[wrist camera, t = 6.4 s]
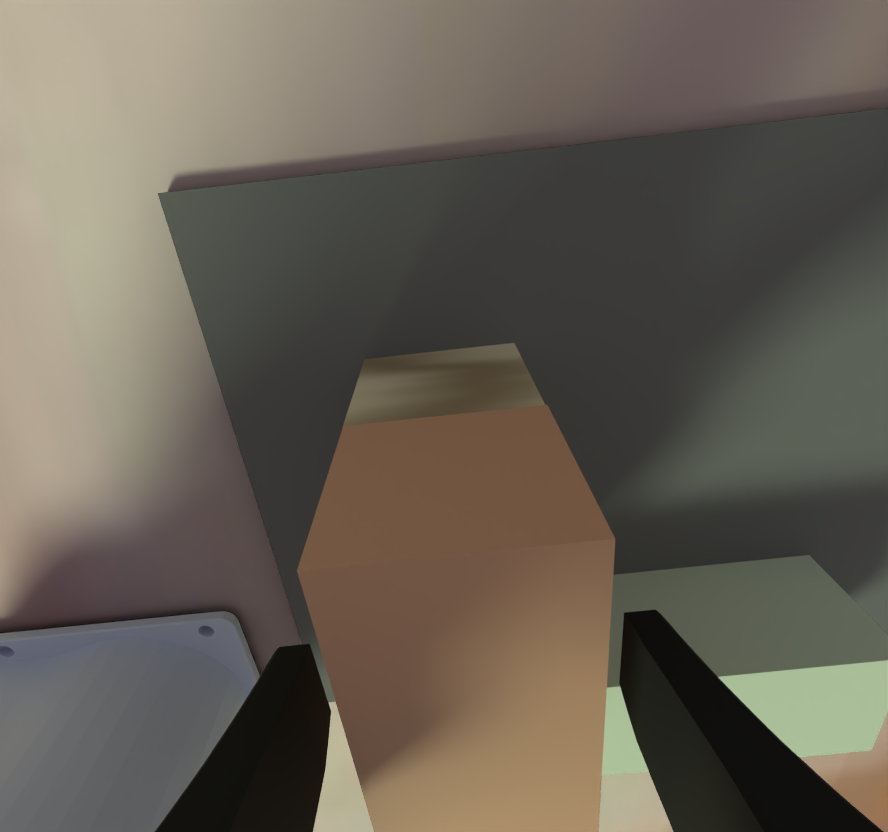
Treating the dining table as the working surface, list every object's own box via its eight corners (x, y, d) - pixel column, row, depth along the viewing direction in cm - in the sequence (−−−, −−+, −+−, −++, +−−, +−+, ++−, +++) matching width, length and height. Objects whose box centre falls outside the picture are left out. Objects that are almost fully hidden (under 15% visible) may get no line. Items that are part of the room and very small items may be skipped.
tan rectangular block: (404, 718, 14) (397, 909, 10) (343, 425, 10) (296, 570, 6) (551, 704, 14) (595, 892, 10) (547, 404, 10) (615, 539, 6)
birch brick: (409, 606, 18) (405, 719, 14) (364, 359, 14) (342, 427, 10) (525, 594, 18) (551, 705, 14) (514, 342, 14) (545, 406, 10)
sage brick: (542, 663, 19) (569, 778, 15) (540, 582, 17) (569, 691, 14) (786, 639, 19) (871, 750, 15) (809, 554, 17) (911, 658, 14)
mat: (323, 693, 20) (321, 702, 20) (165, 192, 12) (157, 193, 12) (999, 627, 20) (1010, 635, 19) (1292, 61, 12) (1319, 57, 11)
